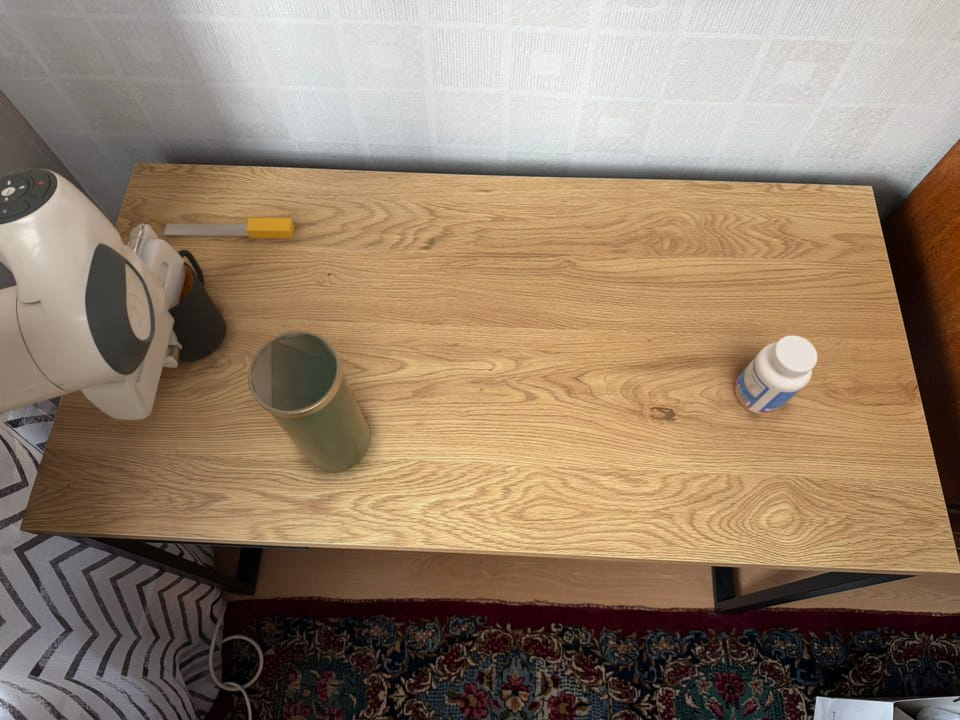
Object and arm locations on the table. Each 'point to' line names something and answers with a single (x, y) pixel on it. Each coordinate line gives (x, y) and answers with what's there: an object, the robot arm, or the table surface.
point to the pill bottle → (776, 374)
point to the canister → (310, 399)
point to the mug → (196, 316)
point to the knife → (235, 229)
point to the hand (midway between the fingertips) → (173, 357)
